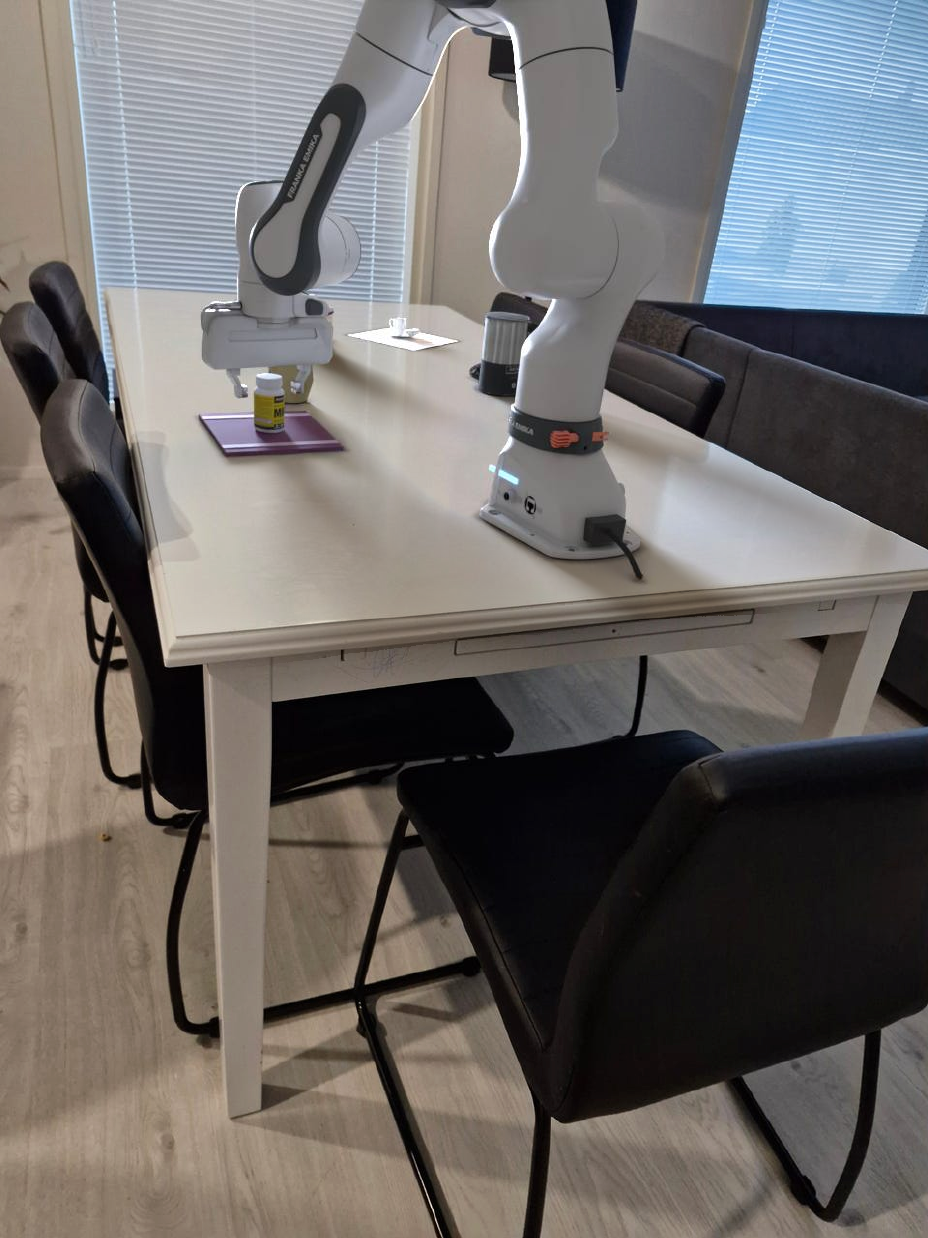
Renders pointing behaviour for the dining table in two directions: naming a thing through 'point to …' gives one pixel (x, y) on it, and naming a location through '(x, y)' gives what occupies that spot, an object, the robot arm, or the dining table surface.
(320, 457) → the dining table surface
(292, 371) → the squeeze bottle
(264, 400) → the supplement bottle
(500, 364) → the milk frother
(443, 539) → the dining table surface
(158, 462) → the dining table surface
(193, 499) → the dining table surface
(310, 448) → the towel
